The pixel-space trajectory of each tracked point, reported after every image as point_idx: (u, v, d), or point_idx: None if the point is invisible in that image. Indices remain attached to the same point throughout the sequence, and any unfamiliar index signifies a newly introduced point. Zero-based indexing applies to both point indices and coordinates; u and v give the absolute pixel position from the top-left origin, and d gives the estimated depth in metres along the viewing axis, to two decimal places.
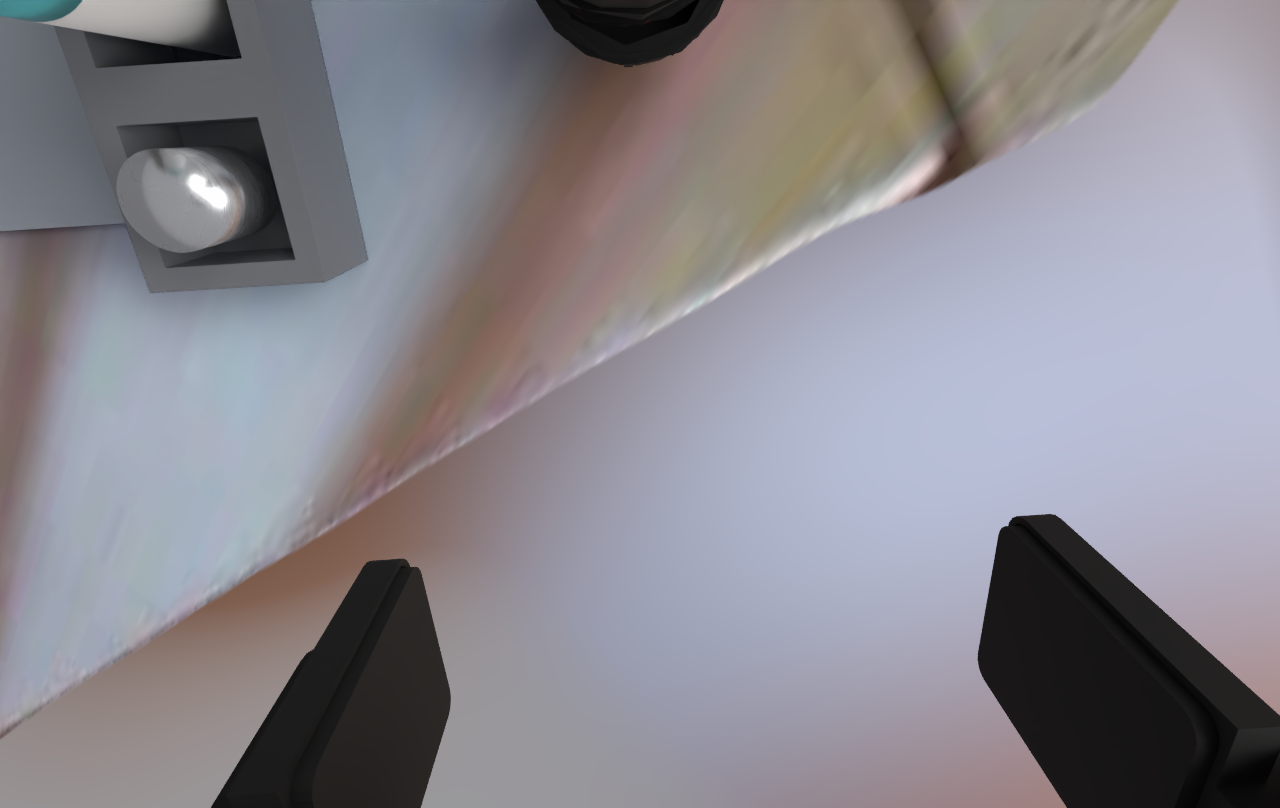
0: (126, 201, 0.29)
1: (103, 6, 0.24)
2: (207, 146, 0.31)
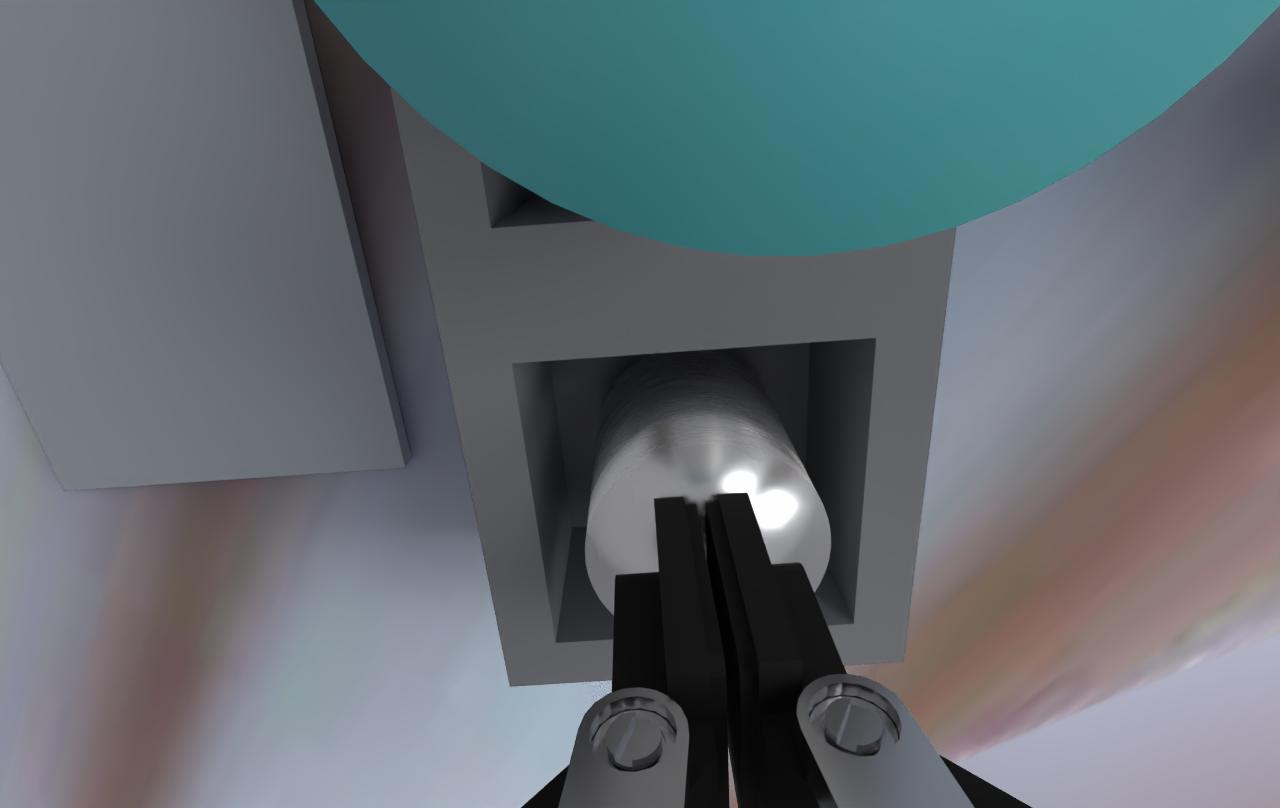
0: (604, 553, 0.12)
1: None
2: (696, 367, 0.14)
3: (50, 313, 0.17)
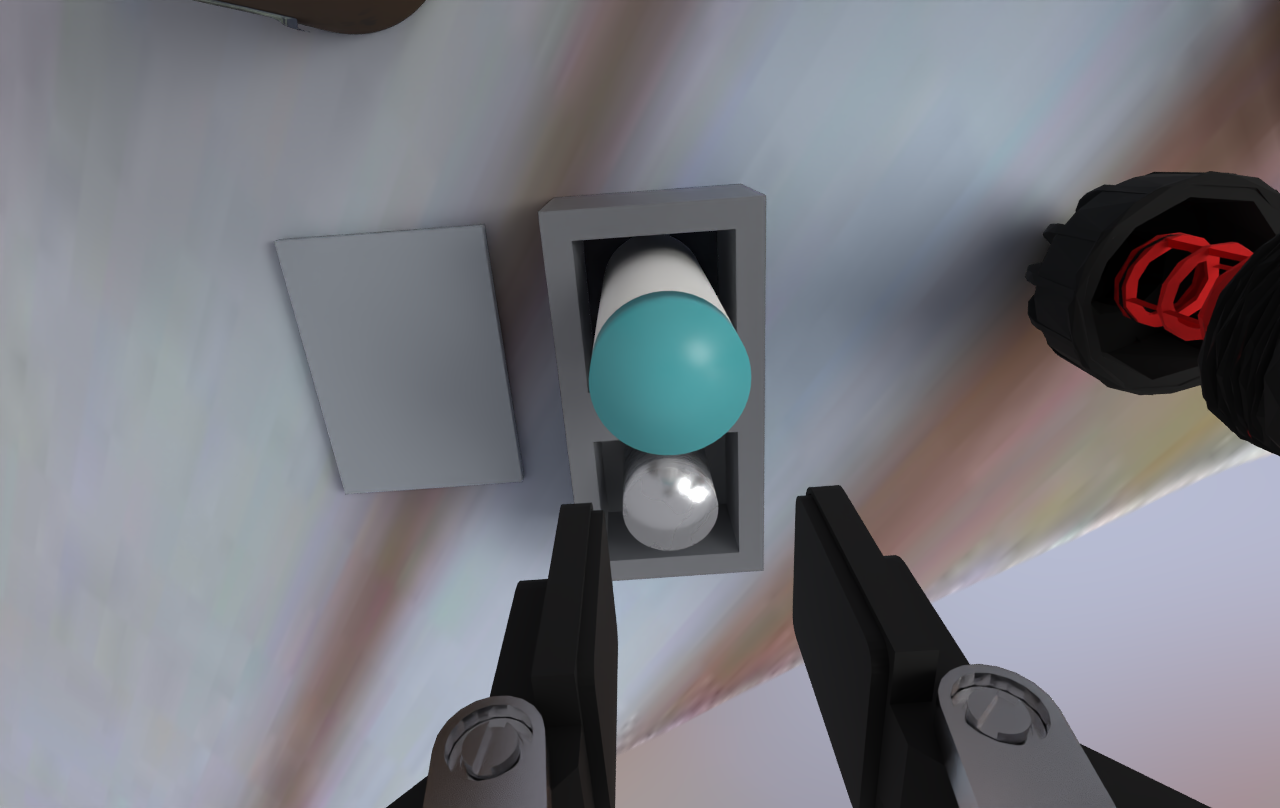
0: (630, 510, 0.30)
1: None
2: None
3: (356, 407, 0.35)
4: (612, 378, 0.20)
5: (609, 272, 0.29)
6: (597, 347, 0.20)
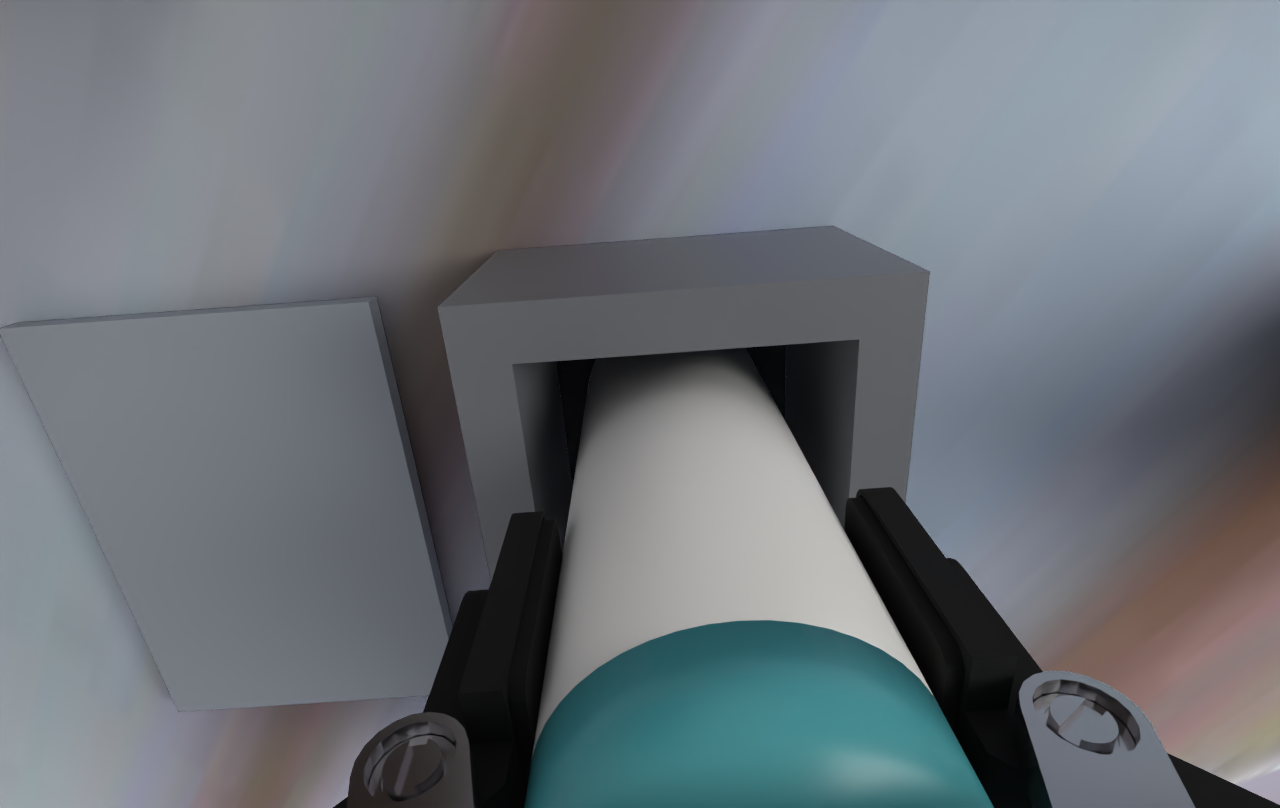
0: None
1: None
2: None
3: (180, 589, 0.21)
4: None
5: (594, 405, 0.15)
6: None
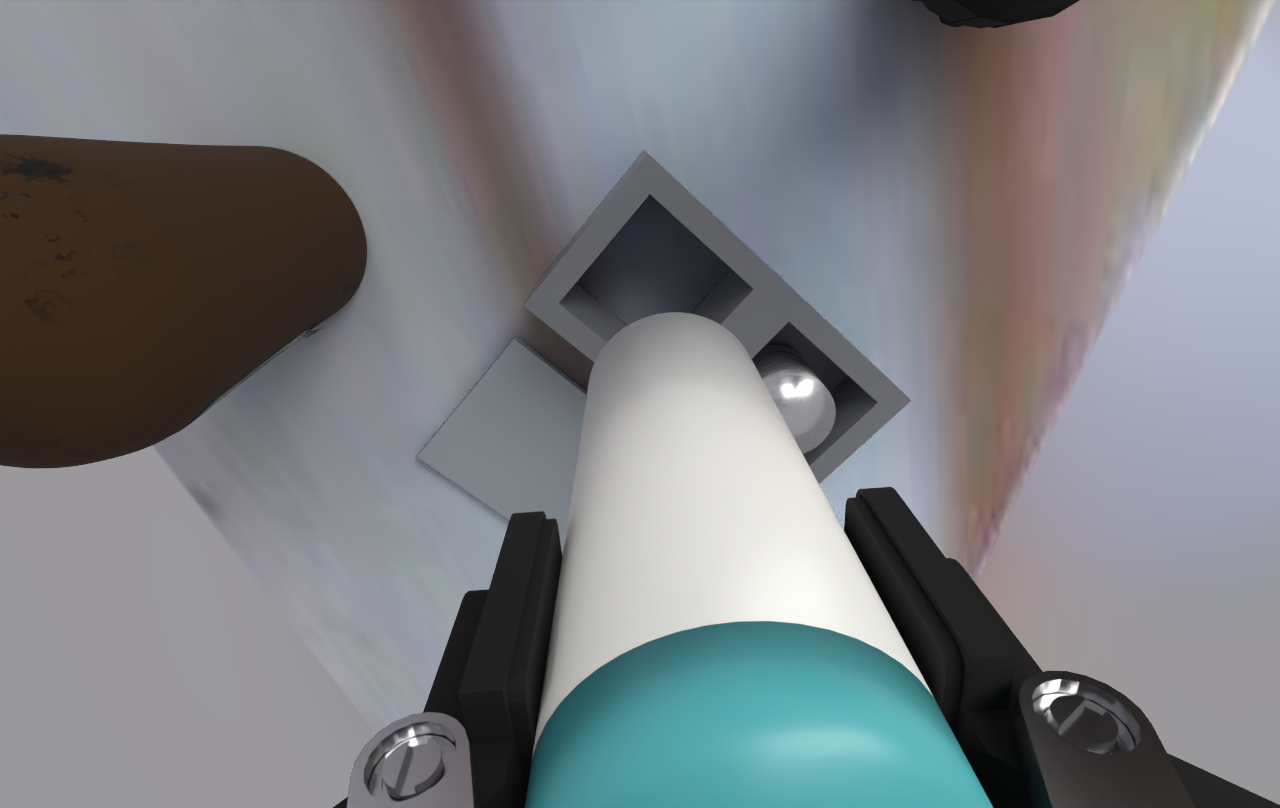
0: None
1: None
2: None
3: (548, 516, 0.42)
4: None
5: (594, 405, 0.15)
6: None
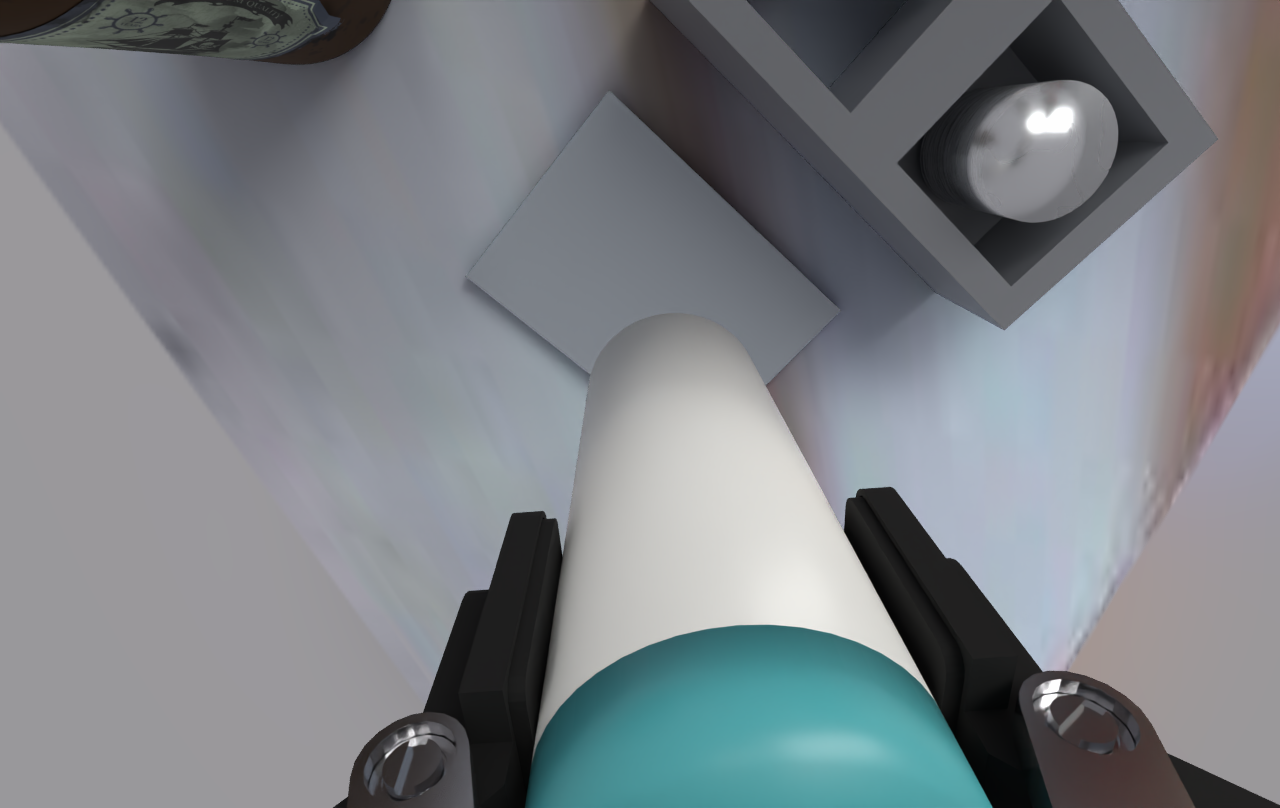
0: (1001, 195, 0.22)
1: None
2: (961, 103, 0.24)
3: None
4: None
5: (594, 406, 0.15)
6: None
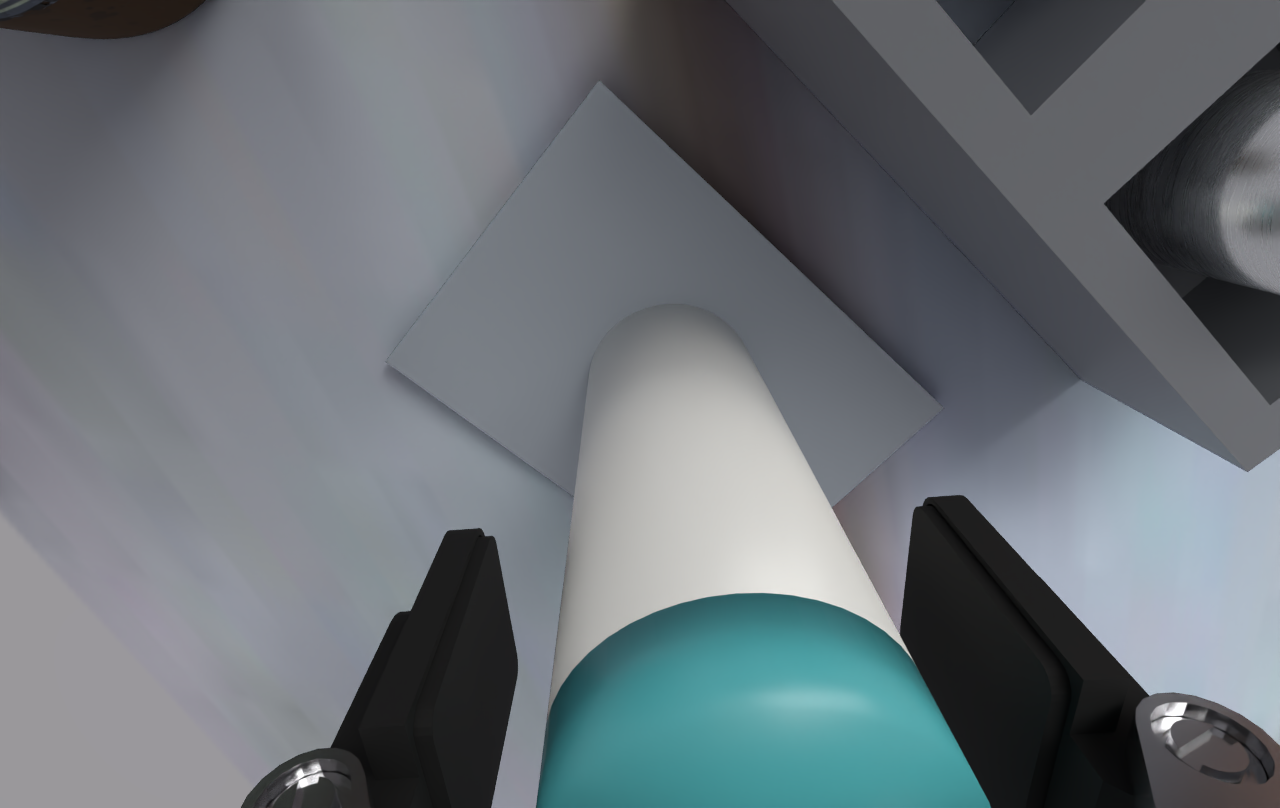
0: None
1: None
2: None
3: None
4: None
5: (596, 394, 0.15)
6: None
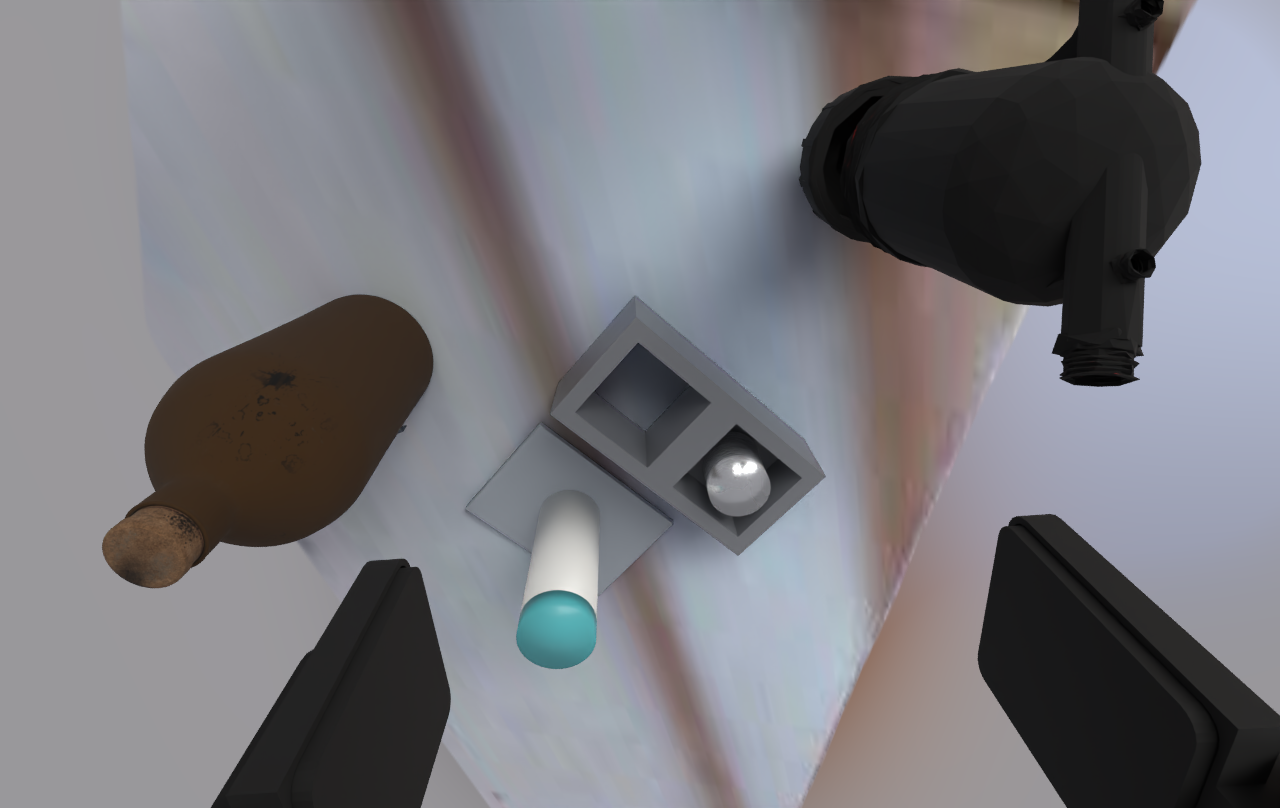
0: (719, 505, 0.46)
1: None
2: None
3: None
4: (527, 637, 0.41)
5: (538, 530, 0.50)
6: (519, 625, 0.41)
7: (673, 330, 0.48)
